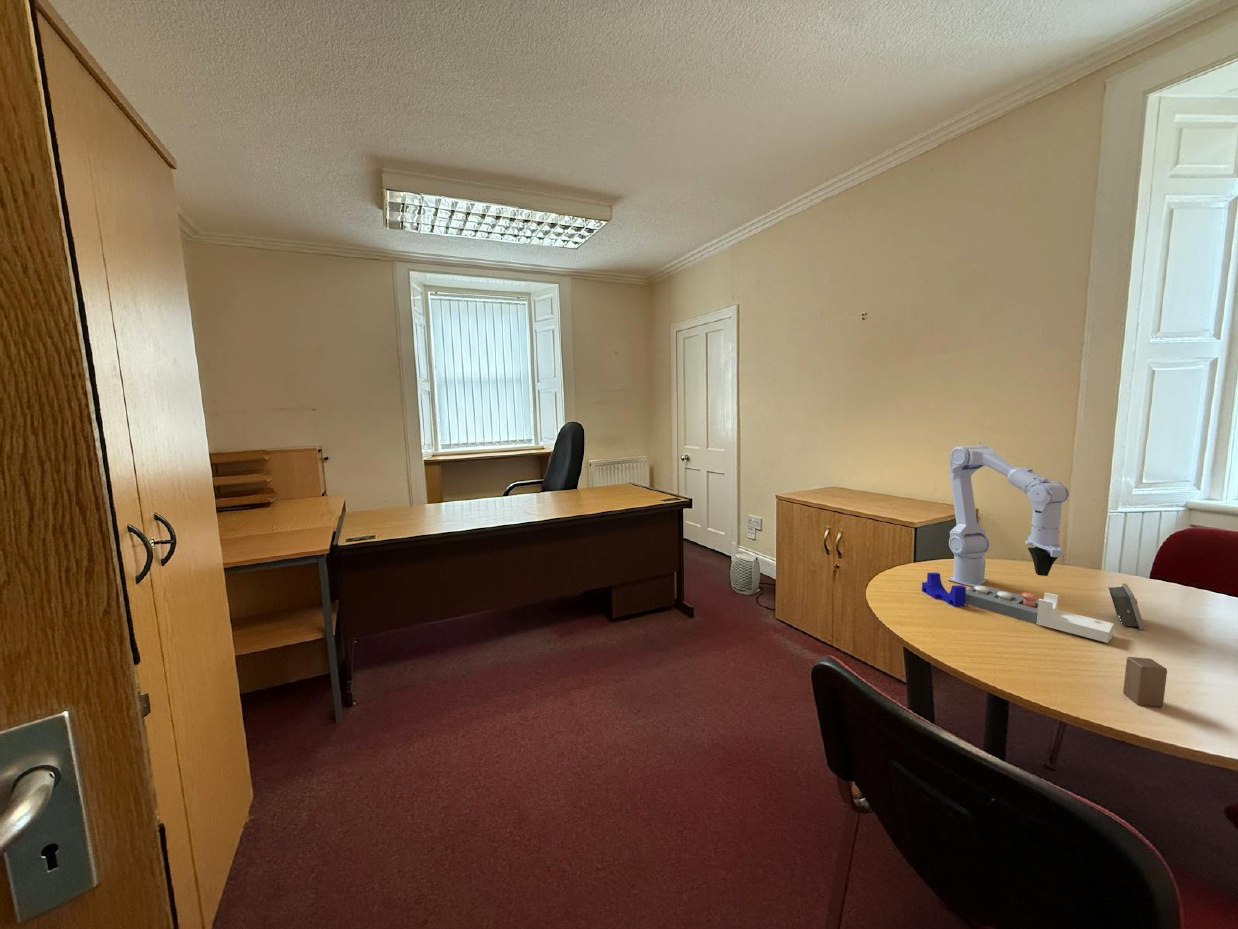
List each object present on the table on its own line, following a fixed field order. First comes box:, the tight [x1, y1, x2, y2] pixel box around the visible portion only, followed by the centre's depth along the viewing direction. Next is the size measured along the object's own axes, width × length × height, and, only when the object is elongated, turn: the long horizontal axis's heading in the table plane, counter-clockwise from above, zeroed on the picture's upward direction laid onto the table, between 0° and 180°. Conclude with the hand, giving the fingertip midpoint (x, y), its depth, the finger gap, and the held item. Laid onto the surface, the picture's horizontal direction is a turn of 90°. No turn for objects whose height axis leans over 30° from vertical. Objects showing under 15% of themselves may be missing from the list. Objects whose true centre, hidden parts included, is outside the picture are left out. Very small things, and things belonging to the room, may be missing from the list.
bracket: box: [1035, 592, 1115, 644], centre depth 120 cm, size 13×7×8 cm, turn 38°
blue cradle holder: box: [921, 572, 967, 608], centre depth 141 cm, size 12×4×6 cm, turn 1°
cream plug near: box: [975, 585, 989, 595], centre depth 139 cm, size 3×3×4 cm
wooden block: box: [1122, 656, 1168, 708], centre depth 92 cm, size 4×4×8 cm
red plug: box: [1021, 592, 1039, 608], centre depth 129 cm, size 3×3×4 cm
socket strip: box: [965, 584, 1040, 625], centre depth 134 cm, size 11×17×3 cm, turn 33°
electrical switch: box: [1108, 583, 1145, 630], centre depth 124 cm, size 9×5×9 cm, turn 141°
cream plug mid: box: [997, 591, 1013, 601], centre depth 134 cm, size 3×3×4 cm
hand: (1041, 575), depth 130 cm, fingers closed
